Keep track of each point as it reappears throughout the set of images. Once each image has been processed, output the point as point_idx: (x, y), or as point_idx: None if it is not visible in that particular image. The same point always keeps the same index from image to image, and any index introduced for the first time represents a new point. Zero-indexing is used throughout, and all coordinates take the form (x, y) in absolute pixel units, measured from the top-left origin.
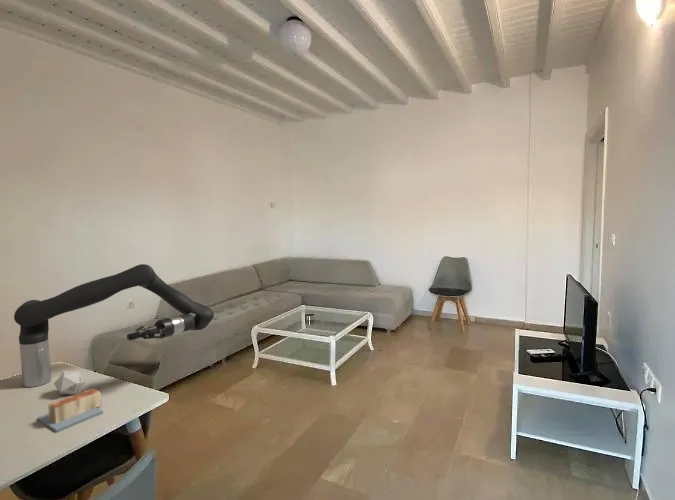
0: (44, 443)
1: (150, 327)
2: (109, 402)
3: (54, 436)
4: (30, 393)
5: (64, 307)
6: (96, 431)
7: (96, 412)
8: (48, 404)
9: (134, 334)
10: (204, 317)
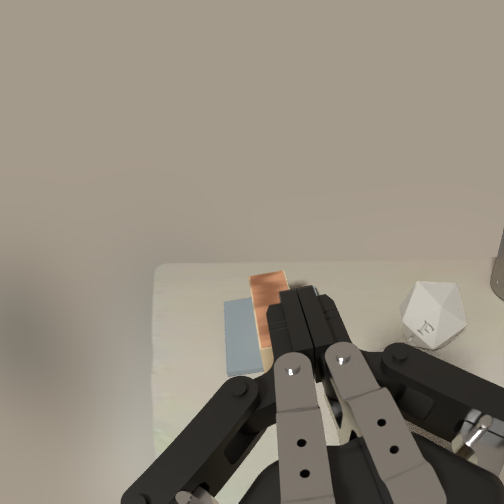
0: (204, 292)
1: (385, 491)
2: None
3: (213, 302)
4: (460, 282)
5: None
6: (159, 347)
7: (232, 361)
8: (283, 270)
9: (285, 325)
10: None
